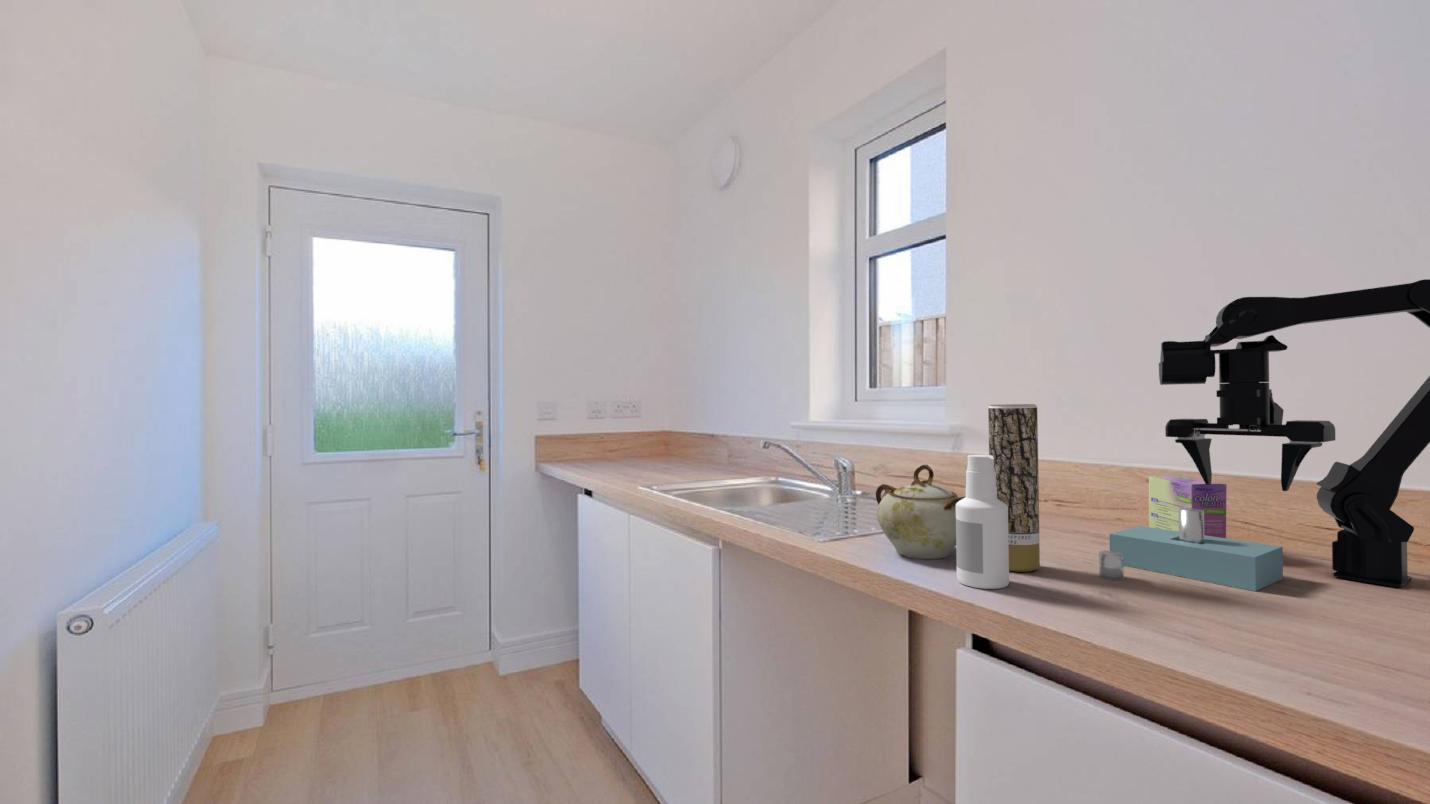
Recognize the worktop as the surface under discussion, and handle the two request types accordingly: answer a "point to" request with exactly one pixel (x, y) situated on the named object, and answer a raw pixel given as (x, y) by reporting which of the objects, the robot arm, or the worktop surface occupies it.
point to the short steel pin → (1111, 565)
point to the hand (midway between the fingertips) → (1245, 487)
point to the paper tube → (1017, 478)
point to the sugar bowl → (919, 517)
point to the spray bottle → (982, 529)
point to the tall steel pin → (1191, 525)
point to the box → (1186, 503)
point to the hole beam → (1201, 557)
